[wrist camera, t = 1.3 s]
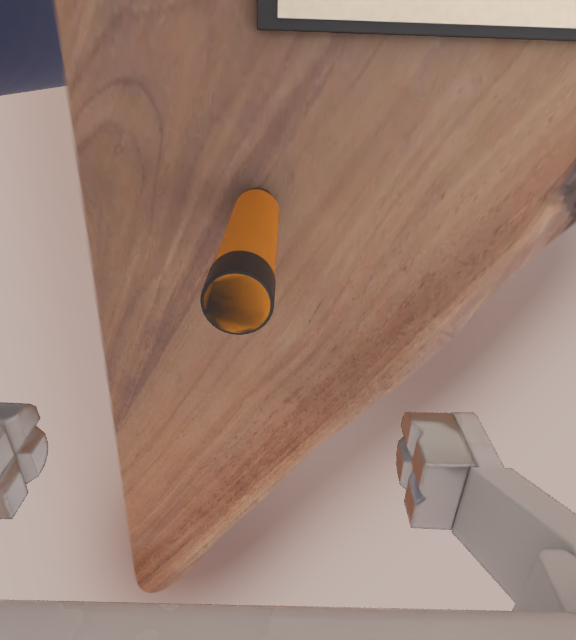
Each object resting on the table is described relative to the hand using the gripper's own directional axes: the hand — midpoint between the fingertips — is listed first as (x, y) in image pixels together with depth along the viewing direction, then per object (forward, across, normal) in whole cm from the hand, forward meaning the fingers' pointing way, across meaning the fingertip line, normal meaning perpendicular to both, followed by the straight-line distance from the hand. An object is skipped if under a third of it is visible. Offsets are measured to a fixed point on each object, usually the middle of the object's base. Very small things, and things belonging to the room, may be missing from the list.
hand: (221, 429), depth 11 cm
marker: (+20, 0, +1) cm, 20 cm away
